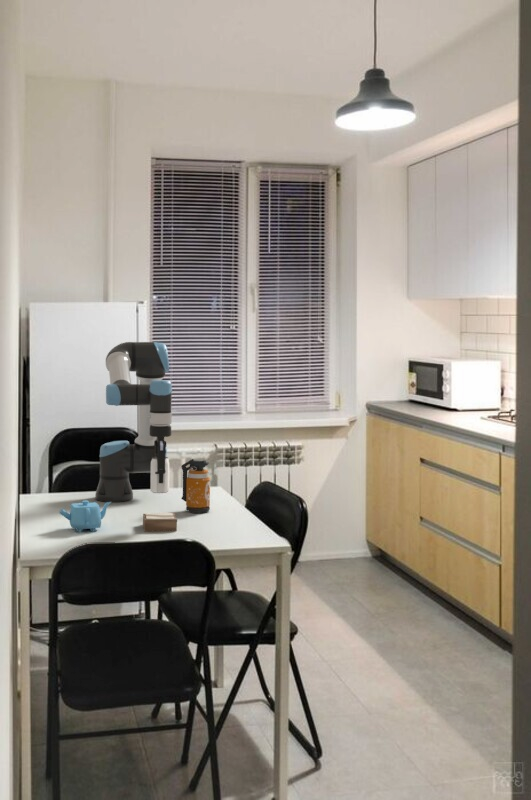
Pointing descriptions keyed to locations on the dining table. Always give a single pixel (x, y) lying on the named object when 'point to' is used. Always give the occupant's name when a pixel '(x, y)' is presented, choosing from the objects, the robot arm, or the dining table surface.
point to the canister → (196, 486)
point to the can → (154, 476)
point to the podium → (159, 522)
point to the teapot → (85, 515)
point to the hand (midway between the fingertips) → (159, 490)
